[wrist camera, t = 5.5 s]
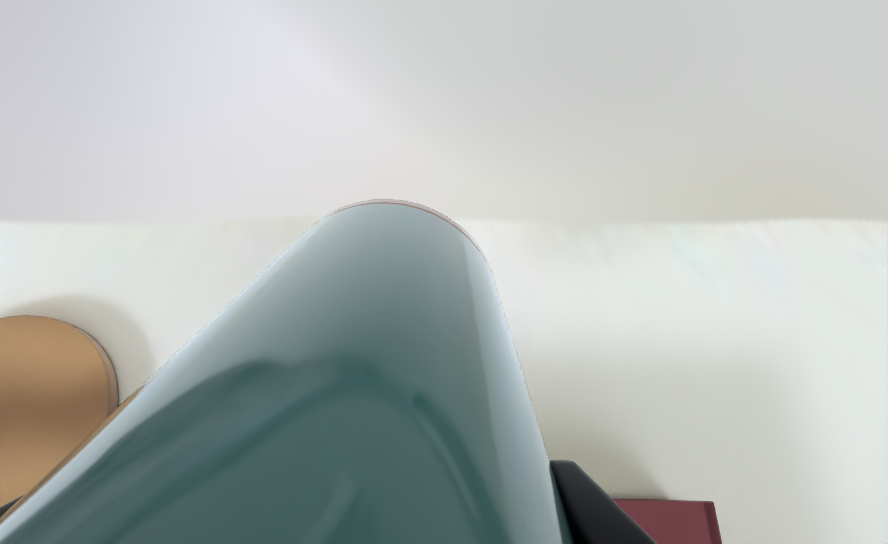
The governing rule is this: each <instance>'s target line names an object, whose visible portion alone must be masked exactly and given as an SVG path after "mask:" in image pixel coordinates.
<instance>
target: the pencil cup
mask: <svg viewBox="0 0 888 544" xmlns="http://www.w3.org/2000/svg"><path fill="white" fill-rule="evenodd" d="M0 544H575V543H574V540H573V536H572V533H571V530H570V526H569V523H568V520H567V517H566V513H565V510H564V507H563V503H562V500H561V497H560V494H559V490H558V487H557V484H556V481H555V477H554V474H553V471H552V467H551V464H550V461H549V458H548V454H547V451H546V448H545V444H544V441H543V438H542V435H541V431H540V428H539V425H538V421H537V418H536V415H535V412H534V408H533V405H532V402H531V398H530V395H529V392H528V389H527V385H526V382H525V379H524V375H523V372H522V369H521V366H520V362H519V359H518V356H517V352H516V349H515V346H514V343H513V339H512V336H511V333H510V330H509V326H508V323H507V320H506V316H505V313H504V310H503V307H502V303H501V300H500V297H499V293H498V290H497V287H496V284H495V280H494V277H493V274H492V270H491V268H490V266H489V264H488V261H487V259H486V257H485V255H484V254H483V252H482V251H481V249H480V247H479V246H478V245H477V243H476V242H475V241H474V240H473V239H472V237H471V236H470V235H469V234H468V233H467V232H466V231H465V230H464V229H463V228H462V227H460V226H459V225H458V224H457V223H455V222H454V221H452V220H451V219H450V218H448V217H447V216H445V215H443V214H441V213H439V212H437V211H435V210H434V209H431V208H428V207H426V206H423V205H420V204H417V203H413V202H408V201H404V200H403V201H402V200H393V199H375V200H368V201H362V202H357V203H353V204H350V205H347V206H344V207H342V208H339V209H338V210H335V211H333V212H331V213H329V214H328V215H326V216H325V217H323V218H321V219H320V220H318V221H317V222H316V223H315V224H314V225H313V226H311V227H310V228H309V229H308V230H307V231H306V232H305V233H304V234H303V235H302V236H300V237H299V238H298V239H297V240H296V241H295V242H294V243H293V244H292V245H291V246H290V247H289V248H288V249H287V250H286V251H284V252H283V253H282V254H281V255H280V256H279V257H278V258H277V259H276V260H275V261H274V262H273V263H272V264H271V265H269V266H268V267H267V268H266V269H265V270H264V271H263V272H262V273H261V274H260V275H259V276H258V277H257V278H256V279H255V280H253V281H252V282H251V283H250V284H249V285H248V286H247V287H246V288H245V289H244V290H243V291H242V292H241V293H240V294H239V295H237V296H236V297H235V298H234V299H233V300H232V301H231V302H230V303H229V304H228V305H227V306H226V307H225V308H224V309H222V310H221V311H220V312H219V313H218V314H217V315H216V316H215V317H214V318H213V319H212V320H211V321H210V322H209V323H208V324H206V325H205V326H204V327H203V328H202V329H201V330H200V331H199V332H198V333H197V334H196V335H195V336H194V337H193V338H191V339H190V340H189V341H188V342H187V343H186V344H185V345H184V346H183V347H182V348H181V349H180V350H179V351H178V352H177V353H175V354H174V355H173V356H172V357H171V358H170V359H169V360H168V361H167V362H166V363H165V364H164V365H163V366H162V367H160V368H159V369H158V370H157V371H156V372H155V373H154V374H153V375H152V376H151V377H150V378H149V379H148V380H147V381H146V382H144V383H143V384H142V385H141V386H140V387H139V388H138V389H137V390H136V391H135V392H134V393H133V394H132V395H131V396H129V397H128V398H127V399H126V400H125V401H124V402H123V403H122V404H121V405H120V406H119V407H118V408H117V409H116V410H115V411H113V412H112V413H111V414H110V415H109V416H108V417H107V418H106V419H105V420H104V421H103V422H102V423H101V424H100V425H98V426H97V427H96V428H95V429H94V430H93V431H92V432H91V433H90V434H89V435H88V436H87V437H86V438H85V439H84V440H82V441H81V442H80V443H79V444H78V445H77V446H76V447H75V448H74V449H73V450H72V451H71V452H70V453H69V454H67V455H66V456H65V457H64V458H63V459H62V460H61V461H60V462H59V463H58V464H57V465H56V466H55V467H54V468H53V469H51V470H50V471H49V472H48V473H47V474H46V475H45V476H44V477H43V478H42V479H41V480H40V481H39V482H38V483H36V484H35V485H34V486H33V487H32V488H31V489H30V490H29V491H28V492H27V493H26V494H25V495H24V496H23V497H22V498H20V499H19V500H18V501H17V502H16V503H15V504H14V505H13V506H12V507H11V508H10V509H9V510H8V511H7V512H5V513H4V514H3V515H2V516H1V517H0Z"/></svg>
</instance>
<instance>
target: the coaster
mask: <svg viewBox="0 0 888 544" xmlns="http://www.w3.org/2000/svg"><path fill="white" fill-rule="evenodd" d="M117 406H118V390H117V381H116V377H115V372H114V369H113V367H112V364H111V362H110V360H109V357H108V356H107V354H106V353H105V351H104V350H103V348H102V347H101V346H100V345H99V344H98V343H97V342H96V341H95V339H93V338H92V337H91V336H89V335H88V334H87V333H85V332H84V331H82V330H80V329H78V328H76V327H74V326H72V325H70V324H68V323H66V322H63V321H60V320H57V319H54V318H48V317H43V316H29V315H24V316H10V317H5V318H0V507H2V506H4V505H6V504H8V503H9V502H11V501H13V500H15V499H17V498H19V497H21V496H23V495H24V494H26V493H27V492H28V491H29V490H30V489H31V488H32V487H33V486H34V485H35V484H36V483H38V482H39V481H40V480H41V479H42V478H43V477H44V476H45V475H46V474H47V473H48V472H49V471H50V470H51V469H53V468H54V467H55V466H56V465H57V464H58V463H59V462H60V461H61V460H62V459H63V458H64V457H65V456H66V455H67V454H69V453H70V452H71V451H72V450H73V449H74V448H75V447H76V446H77V445H78V444H79V443H80V442H81V441H82V440H84V439H85V438H86V437H87V436H88V435H89V434H90V433H91V432H92V431H93V430H94V429H95V428H96V427H97V426H98V425H100V424H101V423H102V422H103V421H104V420H105V419H106V418H107V417H108V416H109V415H110V414H111V413H112V412H113V411H115V410H116V409H117Z"/></svg>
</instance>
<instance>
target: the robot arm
mask: <svg viewBox="0 0 888 544" xmlns="http://www.w3.org/2000/svg"><path fill="white" fill-rule="evenodd" d="M550 464H551V467H552V471H553V474H554V477H555V481H556V484H557V487H558V490H559V494H560V497H561V500H562V503H563V507H564V510H565V513H566V517H567V520H568V523H569V526H570V530H571V533H572V536H573V540H574V543H575V544H657V543H656V542H655V541H654V540H653V539H652V538H651V537H650V536H649V535H648V534H647V533H646V532H645V531H644V530H643V529H642V528H641V527H640V526H639V525H638V524H637V523H636V522H635V521H634V520H633V519H632V518H631V517H630V516H629V515H628V514H627V513H626V512H625V511H624V510H623V509H622V508H621V507H620V506H619V505H618V504H617V503H616V502H615V501H614V500H613V499H612V498H611V497H609V496H608V495H607V494H606V493H605V492H604V491H603V490H602V489H601V488H600V487H599V486H598V485H597V484H596V483H595V482H594V481H593V480H592V479H591V478H590V477H589V476H588V475H587V474H586V473H585V472H584V471H583V470H582V469H581V468H580V467H579V466H578V465H577V464H576V463H574V462H573V461H569V460H550ZM24 495H25V494H24ZM24 495H23V496H24ZM23 496H21V497H19V498H17V499H15V500H13V501H11V502H9V503H8V504H6V505H4V506H2V507H0V517H1V516H2V515H3V514H4V513H5V512H7V511H8V510H9V509H10V508H11V507H12V506H13V505H14V504H15V503H16V502H17V501H18V500H19V499H20V498H22V497H23Z"/></svg>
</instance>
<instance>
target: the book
mask: <svg viewBox="0 0 888 544" xmlns="http://www.w3.org/2000/svg"><path fill="white" fill-rule="evenodd" d="M613 500H614V501H615V502H616V503H617V504H618V505H619V506H620V507H621V508H622V509H623V510H624V511H625V512H626V513H627V514H628V515H629V516H630V517H631V518H632V519H633V520H634V521H635V522H636V523H637V524H638V525H639V526H640V527H641V528H642V529H643V530H644V531H645V532H646V533H647V534H648V535H649V536H650V537H651V538H652V539H653V540H654V541H655V542H656V543H657V544H722V541H721V536H720V531H719V526H718V521H717V517H716V512H715V507H714V502H712V501H687V500H654V499H613Z"/></svg>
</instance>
